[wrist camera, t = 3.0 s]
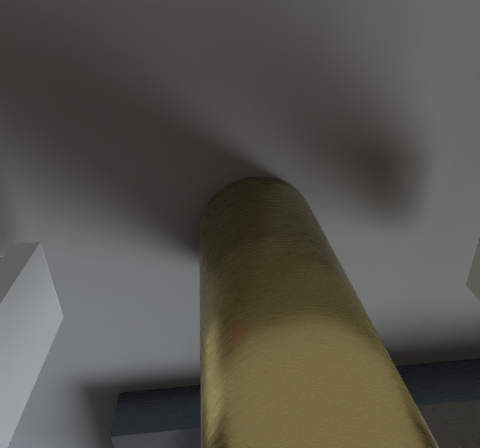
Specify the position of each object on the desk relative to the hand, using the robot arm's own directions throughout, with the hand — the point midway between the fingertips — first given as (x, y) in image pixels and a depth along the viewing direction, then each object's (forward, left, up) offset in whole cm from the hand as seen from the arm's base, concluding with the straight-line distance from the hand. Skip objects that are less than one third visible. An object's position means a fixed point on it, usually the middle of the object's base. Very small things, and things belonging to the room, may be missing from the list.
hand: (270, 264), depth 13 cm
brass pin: (0, 0, -2) cm, 2 cm away
